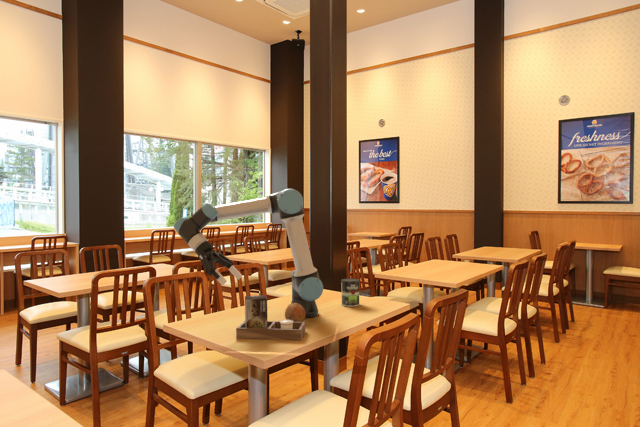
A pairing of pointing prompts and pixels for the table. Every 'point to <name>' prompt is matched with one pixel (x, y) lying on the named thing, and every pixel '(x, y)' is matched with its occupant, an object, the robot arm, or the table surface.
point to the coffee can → (350, 292)
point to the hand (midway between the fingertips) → (232, 280)
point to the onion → (295, 312)
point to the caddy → (272, 332)
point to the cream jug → (286, 324)
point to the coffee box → (256, 311)
